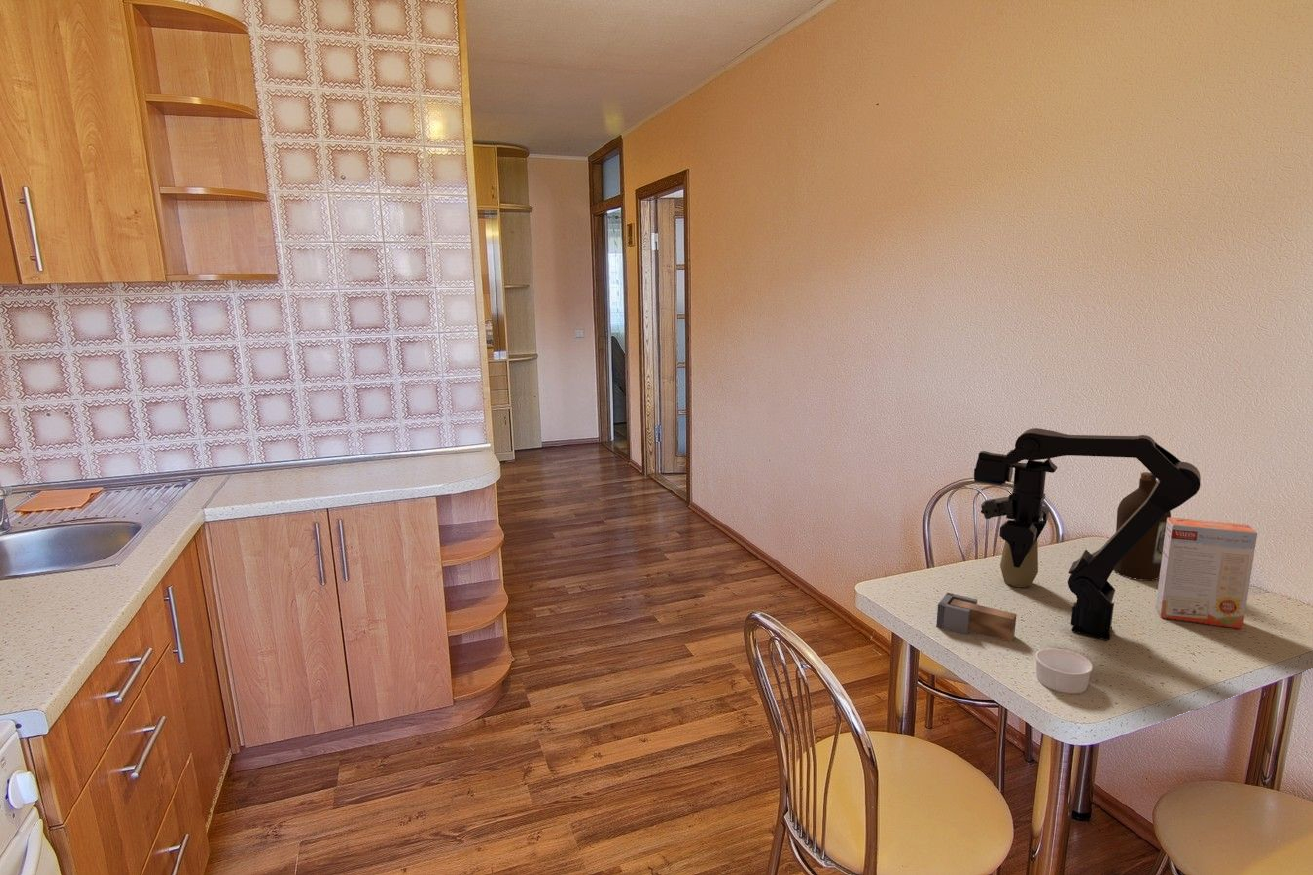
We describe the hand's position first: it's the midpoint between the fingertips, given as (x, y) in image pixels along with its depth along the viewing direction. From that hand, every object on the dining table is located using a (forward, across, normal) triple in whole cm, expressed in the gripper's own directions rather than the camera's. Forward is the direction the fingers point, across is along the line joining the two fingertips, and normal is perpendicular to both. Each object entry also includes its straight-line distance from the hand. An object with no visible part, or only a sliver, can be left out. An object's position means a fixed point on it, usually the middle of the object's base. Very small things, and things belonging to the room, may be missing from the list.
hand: (1021, 560), depth 150 cm
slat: (+12, +13, -4) cm, 18 cm away
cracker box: (+12, -19, +31) cm, 38 cm away
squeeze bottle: (+12, -17, -3) cm, 21 cm away
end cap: (+12, +13, -9) cm, 20 cm away
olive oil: (+12, -40, +19) cm, 46 cm away
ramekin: (+12, +25, +12) cm, 30 cm away
